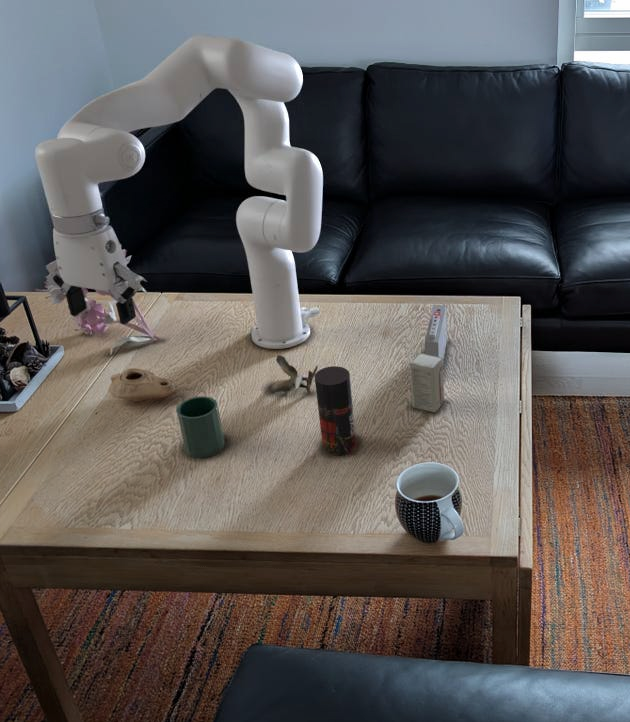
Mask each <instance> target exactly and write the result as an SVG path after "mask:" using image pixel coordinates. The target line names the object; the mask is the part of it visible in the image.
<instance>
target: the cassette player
mask: <svg viewBox="0 0 630 722" xmlns="http://www.w3.org/2000/svg"><path fill="white" fill-rule="evenodd" d="M447 333H448V332H447V305H445V304H444V305H443V304H442V305H441V304H433V305H432V310H431V313H430V318H429V323H428V326H427V331H426V334H425V335H426V336H425V339H424V354H428V355H433V356H437V357H441V358H443V359H444V358H445V353H446V347H447V342H448V340H447V335H448V334H447Z"/></svg>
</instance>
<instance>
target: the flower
mask: <svg viewBox="0 0 630 722" xmlns="http://www.w3.org/2000/svg"><path fill="white" fill-rule="evenodd" d="M119 244H120V246H121V247H122V244H121V243H119ZM127 251H128V250H127V249H125V248H124V249H122V252H123V255H124V258H125V262H126V265H128V264H129V263H130V261H131V257H132V255H129V256H127V257H126V255H127ZM127 269H129V270H130V268H129V267H127ZM137 275H138V276H140V278H141V281H144V282H148V281H147V280H146V279H145V278H144V277H143V276H141V275H139V274H137ZM45 279H46V281H44V284H45V286H44V288H45V289H39V288H35V291H37V292H43V293H45V292H46V293H47V294H48V295H49V296H45V300H47V299H49V298H51V299H50V300H49V301H50V303H52V304H61V303H62V302H64V300H65V299H66V294H63V293H62V292H61V290H60V289H61V287H59V286H58V285H57V284H56V283H55V282H54V280H53V276H51V274H50V273H49V274H48V275H47V276H45ZM125 282H126V283H127V285H128V282H127V281H125ZM115 283H116V282H115ZM115 283H114V284H115ZM46 288H47V289H46ZM81 288H82V290H83V294H84V298H85V302H86V306H87V308H86V309H85V310H84V311H82V312H81V313H79V314H78V315H76V316H72V319H71V320H72V321H75V322H76V325H77V327H74V328H73V330H74V332H78V331H80V330H82V331H83V333H85V335H92V331H93V332H94V333H95V334H104V332H106V331H107V330H108V329H109V326H111V325H113V324H117V323H118V324H120V325H123V326H125V327H127V328H129V329H132V330H134V331H137V332H140V333H142V334H139V335H131V336H120V337H118V338H116V339H115V340H114V342H113V343H112V344H111V346H110V354H109V355H112V354H113V352H114V349H115V348H117V347H119V346H122V345H124V344H126V343H131V342H132V343H133V342H134V343H137V344H139V343H141V344H142V343H143V342H147V341H150V340H159V341H161V338H160V337H158V336H157V335H155V334H154V333H153V332H152V331H151V329H150V327H149V325H148V323H147V321H146V319H145V317H144V315H143V314H142V312H141V310H140V308H139V307H138V305H137V304H136V302H135V300H134V298H132V300H133V305H134V309H135V312H137V313H136V314H138V316H139V317H138V316H137V315H136V317H135V318H134V320H135V322H136V323H137V324H138V325H139V326H138V325H137V324H135V323H131V322H128V323H127V324H125V325H124V324H121V323H120V319H117V317H116V313H115V310H114V308H115V307H117V306H116V303H117V302H119V301H118V300H117V299H116V298H115V297H114V296H113V295H112V293H111V292H110V291H102V290H95V292H96V294H98V295H100V296H103V297H104V296H109V297H110V298H113V300H110V301H109V302H108V303H107V310H106V309H105V308H104V305H103V303H98V302H97V300H94V299H90V300H88V294H89V290H88V288H83V287H81ZM117 289H118V290H119V291H120V292H121V293H122V294H123V292H124V291H123V290H122V289H121V288H120V287H117ZM138 291H142V292H143V293H144V294H148V292H147V290H146V289H145V288H144V286H142V285H141V283H140V284H139V290H138ZM138 291H137V292H138ZM67 309H68V310H69V311H70V309H69V306H68V305H67ZM69 315H71V313H70V312H69Z"/></svg>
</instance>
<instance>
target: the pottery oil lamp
mask: <svg viewBox="0 0 630 722" xmlns="http://www.w3.org/2000/svg"><path fill="white" fill-rule="evenodd" d="M110 381H111V383H110V385H109V387H108V392H109V394H110V395H111V396H112V397H114V398H117V399H122V400H126V401H129V402H134V403H136V402H143V401H146V400H148V399H152V398H161V397H166V396H169V395H171V394H173V392H174V391H175V389H176V387H175V384H174V382H173V381H171V380H169V379H166V378H163V377H160V376H157V375H155V374H154V373H153V372H151V371H150V370H147V369H142V368H128V369H126V370H124V371H123V372H121V373H120V372H119V373H115V374H113V375H111V376H110Z"/></svg>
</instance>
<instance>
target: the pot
mask: <svg viewBox="0 0 630 722" xmlns="http://www.w3.org/2000/svg"><path fill="white" fill-rule="evenodd" d="M176 407H177V408H176V411H175V412H176V416H177V420H178V425H179V428H180V429H179V430H180V433H181V438H182V443H183V447H184V451H185V453H186V454H187V455H188V456H189V457H192V458H197V459H198V458H199V459H203V458H210V457H211V456H214V455H217V454H218V453H220V452H221V451H222V450H223V449H224V447H225V444H226V443H225V436H224V431H223V430H224V429H223V425H222V420H221V415H220V411H219V404H218V402H217V400H216V399H215V398H213V397H210V396H207V395H206V396H203V395H202V396H194V397H190V398H188V399H186V400H183V401H182V402H180V403H179V404H178V405H177V406H176Z"/></svg>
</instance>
